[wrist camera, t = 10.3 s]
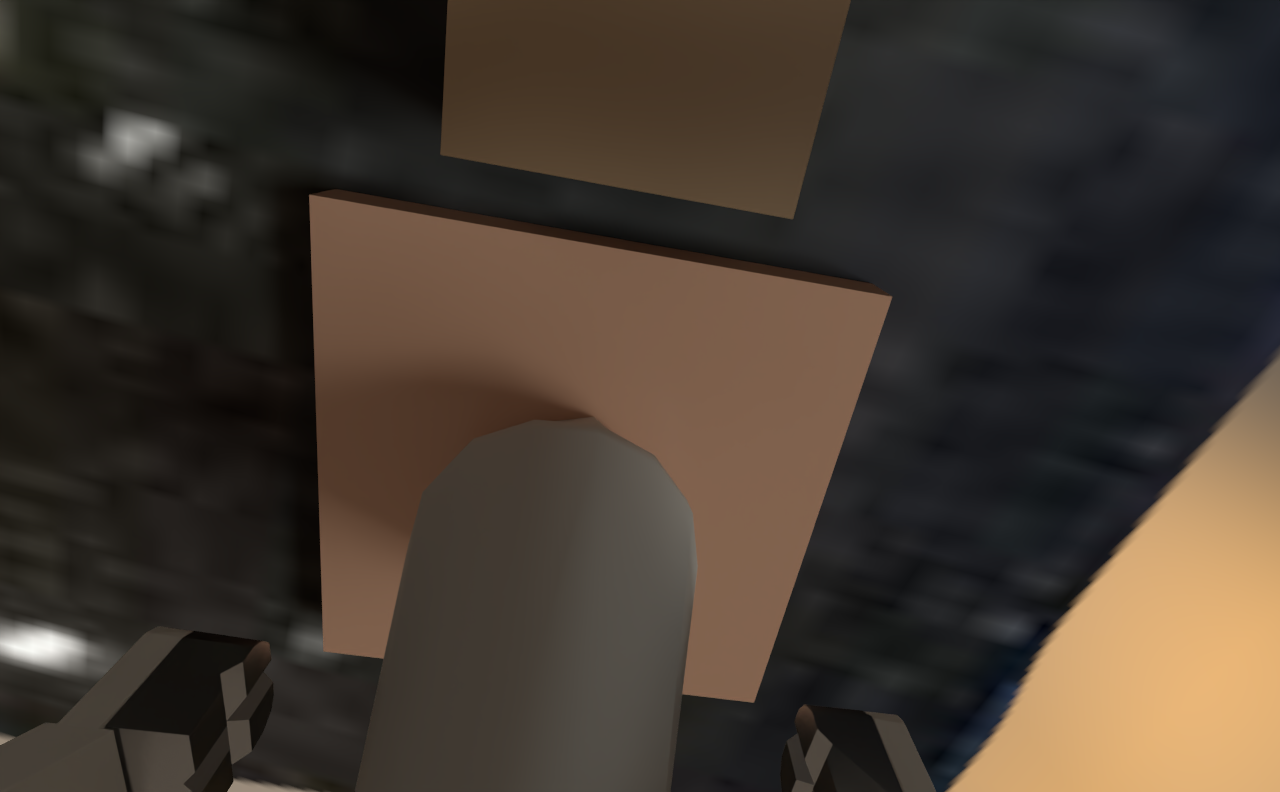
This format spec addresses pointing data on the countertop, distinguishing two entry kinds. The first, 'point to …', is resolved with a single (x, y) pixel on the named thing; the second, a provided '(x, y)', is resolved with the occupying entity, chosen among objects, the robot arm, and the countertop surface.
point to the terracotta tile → (576, 396)
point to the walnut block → (644, 92)
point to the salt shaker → (538, 621)
